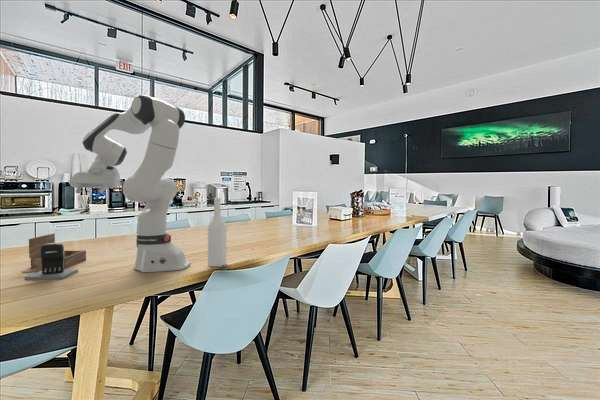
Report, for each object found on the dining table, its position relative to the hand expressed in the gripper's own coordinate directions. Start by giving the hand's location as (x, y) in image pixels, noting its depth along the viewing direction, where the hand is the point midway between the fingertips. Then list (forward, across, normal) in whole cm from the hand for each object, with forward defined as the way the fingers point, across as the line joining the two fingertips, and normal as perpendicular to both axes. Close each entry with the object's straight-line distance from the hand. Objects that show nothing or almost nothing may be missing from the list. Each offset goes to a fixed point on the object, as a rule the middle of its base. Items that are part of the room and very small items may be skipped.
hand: (88, 192), depth 143 cm
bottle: (+30, +59, +14) cm, 68 cm away
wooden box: (+28, -9, +16) cm, 34 cm away
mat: (+39, -1, +5) cm, 40 cm away
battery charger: (+39, -1, +4) cm, 39 cm away
